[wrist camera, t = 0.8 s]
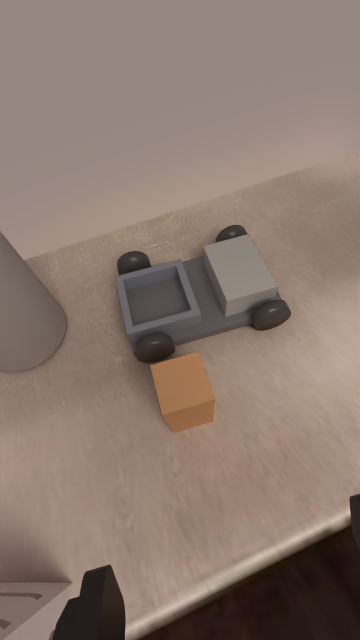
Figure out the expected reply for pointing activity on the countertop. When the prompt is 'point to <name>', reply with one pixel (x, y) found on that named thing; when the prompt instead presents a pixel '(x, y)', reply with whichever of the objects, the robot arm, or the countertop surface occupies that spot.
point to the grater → (32, 609)
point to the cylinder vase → (26, 315)
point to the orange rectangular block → (183, 392)
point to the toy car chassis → (197, 295)
